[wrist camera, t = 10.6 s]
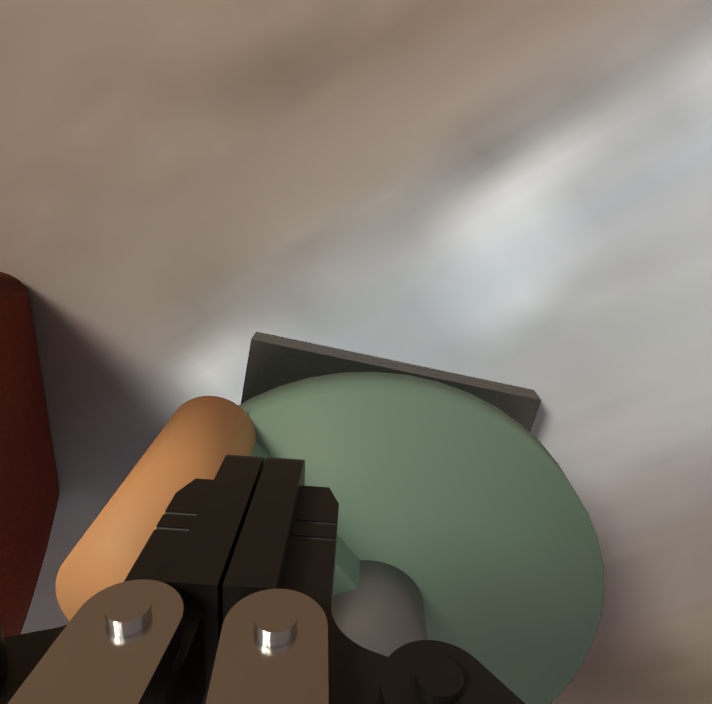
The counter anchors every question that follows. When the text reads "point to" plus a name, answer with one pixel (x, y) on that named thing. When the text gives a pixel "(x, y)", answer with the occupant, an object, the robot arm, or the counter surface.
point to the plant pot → (22, 459)
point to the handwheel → (394, 518)
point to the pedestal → (304, 360)
